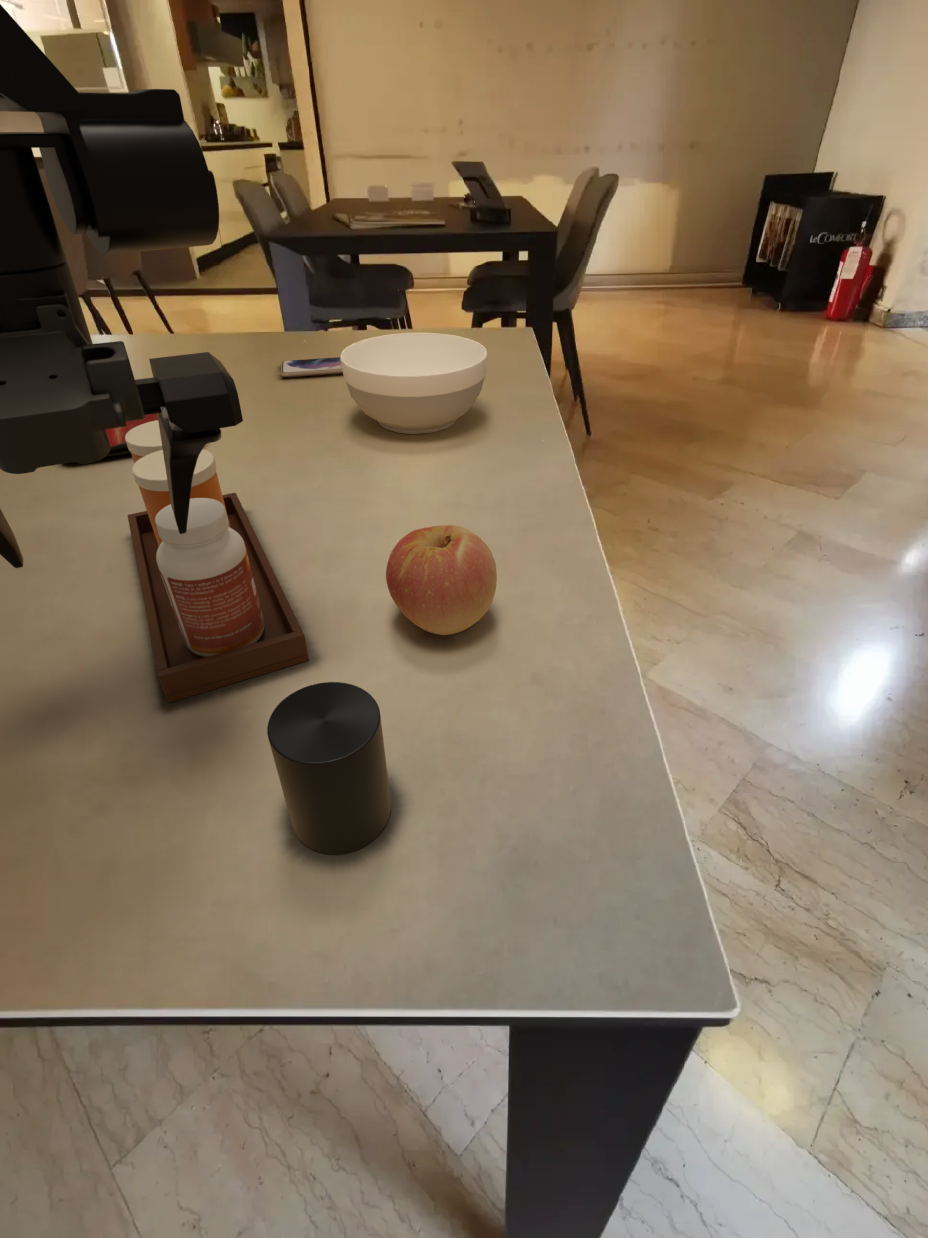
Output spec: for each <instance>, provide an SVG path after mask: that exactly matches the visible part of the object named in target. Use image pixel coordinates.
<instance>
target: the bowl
mask: <svg viewBox="0 0 928 1238" xmlns="http://www.w3.org/2000/svg"><path fill="white" fill-rule="evenodd" d="M339 357H340V360H341V365H342V370H343V373H342V375H343V379H344V381H345V384H346V387H347V389H348V392H349V394H350V397H351V398H352V400H353V401H354V402H355V403H356V404H357V406H358V407H359V408H360V410H362V412H363V413H364V414H365V415H366V416H368V417H369V418H371V419H372V420H374V421H376V422H377V423H378V425H379V426H381V427H382V428H383V429H385V430H388V431H390V432H395V433H399V434H407V435H422V434H430V433H436V432H440V431H444V430H446V429H448V428H450V427H452V426H453V425H454V424H456V422H457V420H458V419H459V418H460V417H462V416H463V415H465V414H466V413H468V411H469V410H470V409H471V408H472V407H473V405H474V403H475V402H476V400H477V399H478V397H479V396H480V394H481V392H482V390H483V385H484V383H485V378H486V374H487V367H488V366H487V365H488V350H487V349H486V347H485V346H484V345H482V344H481V343H480V342H478V341H476V340H473V339H471V338H467V337H464V336H460V335H454V334H448V333H437V332H402V333H401V332H400V333H391V334H384V335H377V336H372V337H369V338H365V339H361V340H359V341H356V342H354V343H352V344H350V345H348V346H346V347H345V348H344V349H343V350H342V351H341V353H340V356H339Z"/></svg>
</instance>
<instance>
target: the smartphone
mask: <svg viewBox="0 0 928 1238" xmlns="http://www.w3.org/2000/svg"><path fill="white" fill-rule="evenodd" d="M280 368H281V369H280V375H281V377H283V378H295V377H308V376H309V377H310V376H322V375H336V374H337V375H338V374H343V370H342V365H341V360H340V356H337V357H324V358H323V357H322V358H306V359H292V360H291V359H290V360H283V361H282V362H281V367H280Z"/></svg>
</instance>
